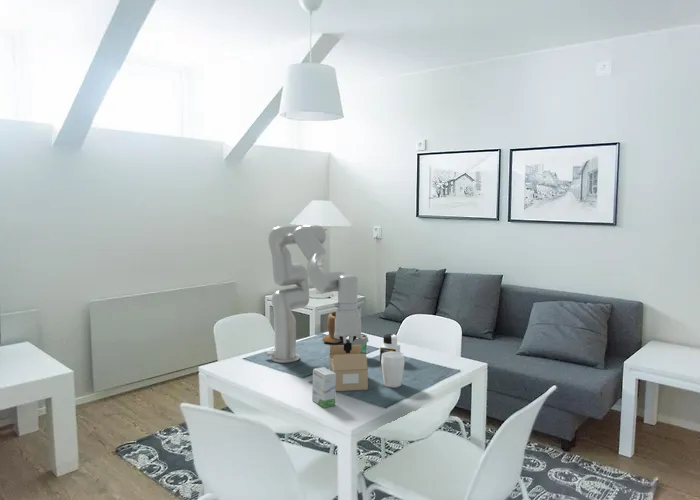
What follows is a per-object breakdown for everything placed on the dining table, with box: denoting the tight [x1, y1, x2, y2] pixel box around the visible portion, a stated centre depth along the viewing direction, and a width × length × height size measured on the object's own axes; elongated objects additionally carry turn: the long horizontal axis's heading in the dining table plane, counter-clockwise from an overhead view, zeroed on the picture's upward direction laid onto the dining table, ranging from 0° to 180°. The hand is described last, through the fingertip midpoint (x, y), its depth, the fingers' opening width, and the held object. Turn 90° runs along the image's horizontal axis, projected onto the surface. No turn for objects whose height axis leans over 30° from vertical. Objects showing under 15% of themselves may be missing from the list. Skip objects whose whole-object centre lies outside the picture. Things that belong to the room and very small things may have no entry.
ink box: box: [311, 366, 337, 409], centre depth 190 cm, size 9×5×12 cm, turn 33°
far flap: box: [329, 344, 361, 356], centre depth 219 cm, size 13×6×1 cm
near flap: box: [333, 353, 368, 371], centre depth 203 cm, size 13×6×1 cm
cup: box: [380, 351, 405, 389], centre depth 209 cm, size 9×9×12 cm
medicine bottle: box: [379, 333, 401, 363], centre depth 238 cm, size 7×7×12 cm
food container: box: [352, 333, 369, 355], centre depth 243 cm, size 12×6×10 cm, turn 168°
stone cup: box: [321, 310, 349, 344], centre depth 271 cm, size 15×12×15 cm
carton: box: [328, 355, 369, 392], centre depth 212 cm, size 13×18×8 cm
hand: (347, 352), depth 211 cm, fingers closed
